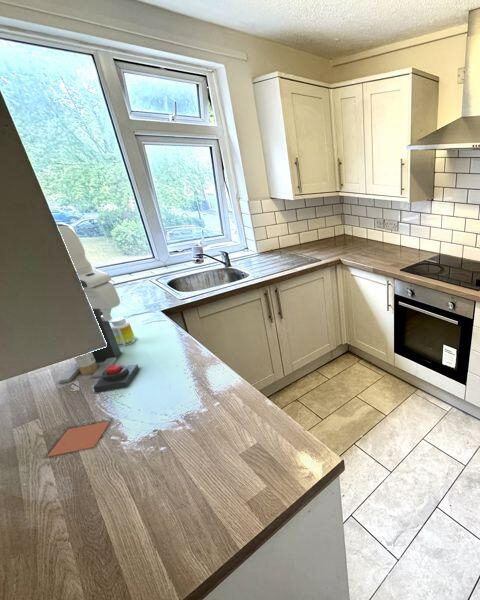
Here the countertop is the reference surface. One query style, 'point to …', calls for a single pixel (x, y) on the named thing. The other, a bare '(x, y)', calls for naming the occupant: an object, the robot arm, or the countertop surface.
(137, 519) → the countertop surface
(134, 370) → the power switch
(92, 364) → the sprinkles bottle
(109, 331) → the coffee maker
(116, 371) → the power button
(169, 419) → the countertop surface
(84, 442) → the coaster
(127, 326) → the supplement bottle
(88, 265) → the robot arm
